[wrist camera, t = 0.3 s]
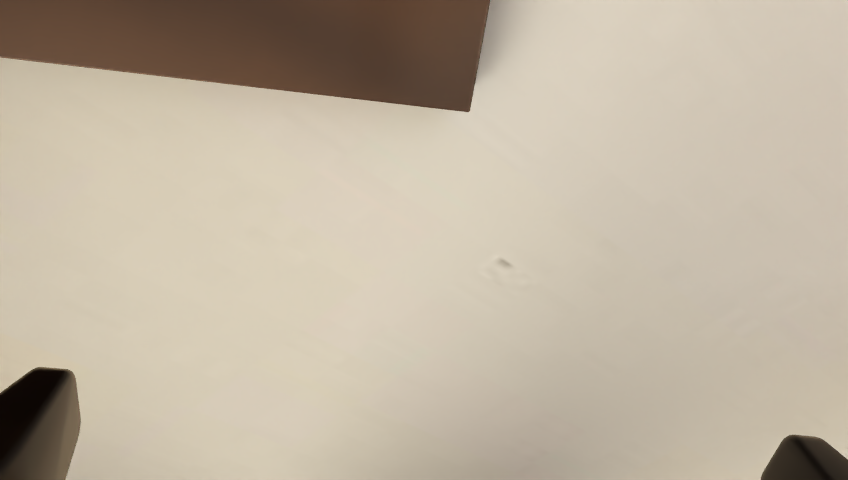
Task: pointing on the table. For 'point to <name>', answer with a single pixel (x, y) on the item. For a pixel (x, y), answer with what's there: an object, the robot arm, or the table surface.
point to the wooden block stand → (266, 43)
